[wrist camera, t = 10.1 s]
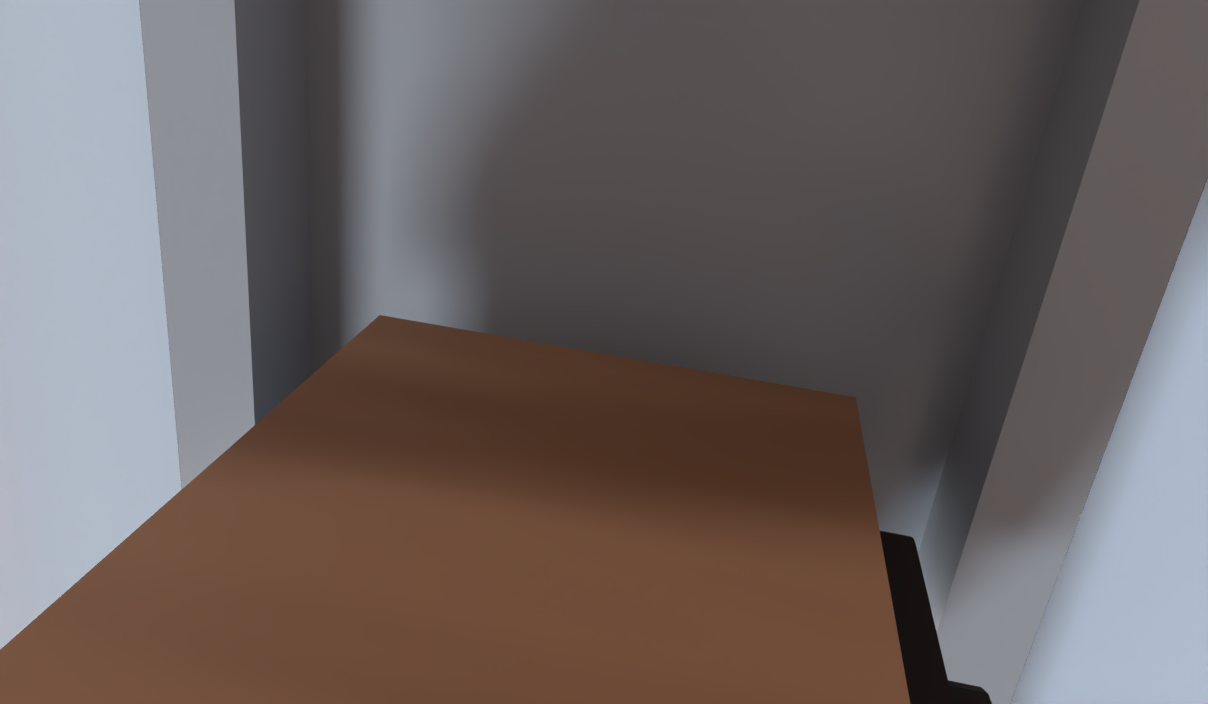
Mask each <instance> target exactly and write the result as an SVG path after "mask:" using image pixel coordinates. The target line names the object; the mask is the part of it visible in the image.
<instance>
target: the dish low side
mask: <svg viewBox="0 0 1208 704" xmlns="http://www.w3.org/2000/svg"><path fill="white" fill-rule="evenodd" d="M139 5H140V17H141V28H142V40H143V51H144V63H145V74H146V86H147V97H148V109H149V120H150V132H151V143H152V155H153V166H154V178H155V189H156V201H157V212H158V223H159V235H160V246H161V258H162V269H163V281H164V292H165V304H166V315H167V327H168V338H169V350H170V361H171V373H172V384H173V396H174V407H175V419H176V430H177V442H178V453H179V465H180V476H181V488H182V489H183V488H184V487H185V486H186V485H188V484H189V483H190V482H191V481H192V480H193V479H194V478H196V477H197V476H198V475H199V474H200V473H201V472H202V471H203V470H205V469H206V468H207V467H208V466H209V465H210V464H211V463H213V462H214V461H215V460H216V459H217V458H218V457H219V456H220V455H222V454H223V453H224V452H225V451H226V450H227V449H228V448H230V447H231V446H232V445H233V444H234V443H235V442H236V441H237V440H239V439H240V438H241V437H242V436H243V435H244V434H245V433H247V432H248V431H249V430H250V429H251V428H252V427H253V426H254V425H256V424H257V423H258V422H259V421H260V420H261V419H262V418H264V417H265V416H266V415H267V414H268V413H269V412H270V411H271V410H273V409H274V408H275V407H276V406H277V405H278V404H279V403H281V402H282V401H283V400H284V399H285V398H286V397H287V396H288V395H290V394H291V393H292V392H293V391H294V390H295V389H296V388H297V387H299V386H300V385H301V384H302V383H303V382H304V381H305V380H307V379H308V378H309V377H310V376H311V375H312V374H313V373H314V372H316V371H317V370H318V369H319V368H320V367H321V366H322V365H324V364H325V363H326V362H327V361H328V360H329V359H330V358H331V357H333V356H334V355H335V354H336V353H337V352H338V351H339V350H341V349H342V348H343V347H344V346H345V345H346V344H347V343H348V342H350V341H351V340H352V339H353V338H354V337H355V336H356V335H358V334H359V333H360V332H361V331H362V330H363V329H364V328H365V327H367V326H368V325H369V324H370V323H371V322H372V321H373V320H375V319H376V318H377V317H378V316H379V315H383V316H389V317H395V318H400V319H406V320H412V321H418V322H424V323H429V324H435V325H441V326H447V327H453V328H458V329H464V330H470V331H476V332H481V333H487V334H493V335H499V336H505V337H510V338H516V339H522V340H528V341H533V342H539V343H545V344H551V345H557V346H562V347H568V348H574V349H580V350H586V351H591V352H597V353H603V354H609V355H614V356H620V357H626V358H632V359H638V360H643V361H649V362H655V363H661V364H666V365H672V366H678V367H684V368H690V369H695V370H701V371H707V372H713V373H718V374H724V375H730V376H736V377H742V378H747V379H753V380H759V381H765V382H771V383H776V384H782V385H788V386H794V387H799V388H805V389H811V390H817V391H823V392H828V393H834V394H840V395H846V396H851V397H856V401H857V407H858V412H859V418H860V423H861V429H862V435H863V440H864V446H865V452H866V457H867V463H868V468H869V474H870V480H871V485H872V491H873V497H874V502H875V508H876V514H877V519H878V525H879V530H880V531H885V532H890V533H896V534H901V535H906V536H911V537H913V538H914V541H915V543H916V547H917V551H918V556H919V560H920V564H921V568H922V573H923V577H924V581H925V585H926V589H927V594H928V598H929V602H930V606H931V611H932V615H933V619H934V623H935V628H936V632H937V636H938V640H939V645H940V649H941V653H942V657H943V661H944V666H945V670H946V674H947V678H948V680H949V681H954V682H959V683H964V684H969V685H974V686H979V687H982V688H983V689H984V690H985V691H986V692H987V693H988V695H989V697H990V699H991V702H992V704H1010V702H1011V699H1012V697H1013V694H1014V691H1015V689H1016V686H1017V683H1018V681H1019V678H1020V675H1021V673H1022V670H1023V667H1024V665H1025V662H1026V659H1027V657H1028V654H1029V651H1030V649H1031V646H1032V643H1033V641H1034V638H1035V635H1036V633H1037V630H1038V627H1039V625H1040V622H1041V620H1042V617H1043V614H1044V612H1045V609H1046V606H1047V604H1048V601H1049V598H1050V596H1051V593H1052V590H1053V588H1054V585H1055V582H1056V580H1057V577H1058V574H1059V572H1060V569H1061V566H1062V564H1063V561H1064V558H1065V556H1066V553H1067V550H1068V548H1069V545H1070V542H1071V540H1072V537H1073V534H1074V532H1075V529H1076V526H1077V524H1078V521H1079V518H1080V516H1081V513H1082V510H1083V508H1084V505H1085V503H1086V500H1087V497H1088V495H1089V492H1090V489H1091V487H1092V484H1093V481H1094V479H1095V476H1096V473H1097V471H1098V468H1099V465H1100V463H1101V460H1102V457H1103V455H1104V452H1105V449H1106V447H1107V444H1108V441H1109V439H1110V436H1111V433H1112V431H1113V428H1114V425H1115V423H1116V420H1117V417H1118V415H1119V412H1120V409H1121V407H1122V404H1123V401H1124V399H1125V396H1126V393H1127V391H1128V388H1129V386H1130V383H1131V380H1132V378H1133V375H1134V372H1135V370H1136V367H1137V364H1138V362H1139V359H1140V356H1141V354H1142V351H1143V348H1144V346H1145V343H1146V340H1147V338H1148V335H1149V332H1150V330H1151V327H1152V324H1153V322H1154V319H1155V316H1156V314H1157V311H1158V308H1159V306H1160V303H1161V300H1162V298H1163V295H1164V292H1165V290H1166V287H1167V284H1168V282H1169V279H1170V276H1171V274H1172V271H1173V269H1174V266H1175V263H1176V261H1177V258H1178V255H1179V253H1180V250H1181V247H1182V245H1183V242H1184V239H1185V237H1186V234H1187V231H1188V229H1189V226H1190V223H1191V221H1192V218H1193V215H1194V213H1195V210H1196V207H1197V205H1198V202H1199V199H1200V197H1201V194H1202V191H1203V189H1204V186H1205V183H1206V181H1207V178H1208V0H139Z"/></svg>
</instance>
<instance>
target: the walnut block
mask: <svg viewBox="0 0 1208 704" xmlns="http://www.w3.org/2000/svg"><path fill="white" fill-rule="evenodd" d="M0 704H910V699H909V694H908V688H907V682H906V677H905V671H904V665H903V660H902V654H901V649H900V643H899V637H898V632H897V626H896V620H895V615H894V609H893V604H892V598H891V592H890V587H889V581H888V575H887V570H886V564H885V559H884V553H883V547H882V542H881V536H880V530H879V525H878V519H877V514H876V508H875V502H874V497H873V491H872V485H871V480H870V474H869V468H868V463H867V457H866V452H865V446H864V440H863V435H862V429H861V423H860V418H859V412H858V407H857V401H856V397H851V396H846V395H840V394H834V393H828V392H823V391H817V390H811V389H805V388H799V387H794V386H788V385H782V384H776V383H771V382H765V381H759V380H753V379H747V378H742V377H736V376H730V375H724V374H718V373H713V372H707V371H701V370H695V369H690V368H684V367H678V366H672V365H666V364H661V363H655V362H649V361H643V360H638V359H632V358H626V357H620V356H614V355H609V354H603V353H597V352H591V351H586V350H580V349H574V348H568V347H562V346H557V345H551V344H545V343H539V342H533V341H528V340H522V339H516V338H510V337H505V336H499V335H493V334H487V333H481V332H476V331H470V330H464V329H458V328H453V327H447V326H441V325H435V324H429V323H424V322H418V321H412V320H406V319H400V318H395V317H389V316H383V315H379V316H378V317H377V318H376V319H375V320H373V321H372V322H371V323H370V324H369V325H368V326H367V327H365V328H364V329H363V330H362V331H361V332H360V333H359V334H358V335H356V336H355V337H354V338H353V339H352V340H351V341H350V342H348V343H347V344H346V345H345V346H344V347H343V348H342V349H341V350H339V351H338V352H337V353H336V354H335V355H334V356H333V357H331V358H330V359H329V360H328V361H327V362H326V363H325V364H324V365H322V366H321V367H320V368H319V369H318V370H317V371H316V372H314V373H313V374H312V375H311V376H310V377H309V378H308V379H307V380H305V381H304V382H303V383H302V384H301V385H300V386H299V387H297V388H296V389H295V390H294V391H293V392H292V393H291V394H290V395H288V396H287V397H286V398H285V399H284V400H283V401H282V402H281V403H279V404H278V405H277V406H276V407H275V408H274V409H273V410H271V411H270V412H269V413H268V414H267V415H266V416H265V417H264V418H262V419H261V420H260V421H259V422H258V423H257V424H256V425H254V426H253V427H252V428H251V429H250V430H249V431H248V432H247V433H245V434H244V435H243V436H242V437H241V438H240V439H239V440H237V441H236V442H235V443H234V444H233V445H232V446H231V447H230V448H228V449H227V450H226V451H225V452H224V453H223V454H222V455H220V456H219V457H218V458H217V459H216V460H215V461H214V462H213V463H211V464H210V465H209V466H208V467H207V468H206V469H205V470H203V471H202V472H201V473H200V474H199V475H198V476H197V477H196V478H194V479H193V480H192V481H191V482H190V483H189V484H188V485H186V486H185V487H184V488H183V489H182V490H181V491H180V492H179V493H177V494H176V495H175V496H174V497H173V498H172V499H171V500H169V501H168V502H167V503H166V504H165V505H164V506H163V507H162V508H160V509H159V510H158V511H157V512H156V513H155V514H154V515H152V516H151V517H150V518H149V519H148V520H147V521H146V522H145V523H143V524H142V525H141V526H140V527H139V528H138V529H137V530H136V531H134V532H133V533H132V534H131V535H130V536H129V537H128V538H126V539H125V540H124V541H123V542H122V543H121V544H120V545H119V546H117V547H116V548H115V549H114V550H113V551H112V552H111V553H109V554H108V555H107V556H106V557H105V558H104V559H103V560H102V561H100V562H99V563H98V564H97V565H96V566H95V567H94V568H92V569H91V570H90V571H89V572H88V573H87V574H86V575H85V576H83V577H82V578H81V579H80V580H79V581H78V582H77V583H75V584H74V585H73V586H72V587H71V588H70V589H69V590H68V591H66V592H65V593H64V594H63V595H62V596H61V597H60V598H58V599H57V600H56V601H55V602H54V603H53V604H52V605H51V606H49V607H48V608H47V609H46V610H45V611H44V612H43V613H41V614H40V615H39V616H38V617H37V618H36V619H35V620H34V621H32V622H31V623H30V624H29V625H28V626H27V627H26V628H24V629H23V630H22V631H21V632H20V633H19V634H18V635H17V636H15V637H14V638H13V639H12V640H11V641H10V642H9V643H7V644H6V645H5V646H4V647H3V648H2V649H1V650H0Z"/></svg>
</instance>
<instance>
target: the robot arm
mask: <svg viewBox="0 0 1208 704" xmlns="http://www.w3.org/2000/svg"><path fill="white" fill-rule="evenodd" d="M880 536H881V542H882V547H883V553H884V559H885V564H886V570H887V575H888V581H889V587H890V592H891V598H892V604H893V609H894V615H895V620H896V626H897V632H898V637H899V643H900V649H901V654H902V660H903V665H904V671H905V677H906V682H907V688H908V694H909V699H910V704H992V702H991V699H990V697H989V695H988V693H987V692H986V691H985V690H984V689H983V688H982V687H979V686H974V685H969V684H964V683H959V682H954V681H949V680H948V678H947V674H946V670H945V666H944V661H943V657H942V653H941V649H940V645H939V640H938V636H937V632H936V628H935V623H934V619H933V615H932V611H931V606H930V602H929V598H928V594H927V589H926V585H925V581H924V577H923V573H922V568H921V564H920V560H919V556H918V551H917V547H916V543H915V541H914V538H913V537H911V536H906V535H901V534H896V533H890V532H885V531H880Z"/></svg>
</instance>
